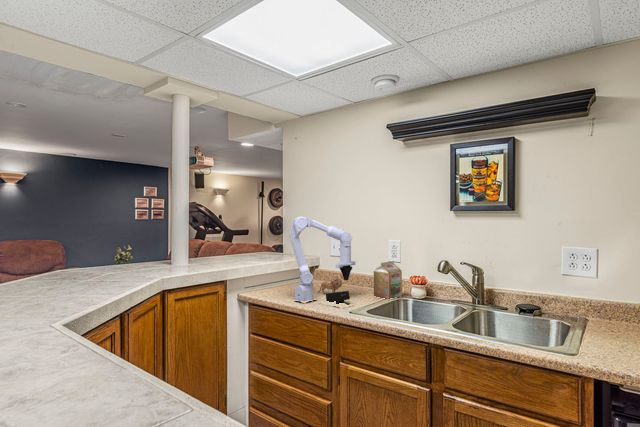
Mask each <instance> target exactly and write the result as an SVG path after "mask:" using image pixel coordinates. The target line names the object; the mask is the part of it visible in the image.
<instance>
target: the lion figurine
mask: <svg viewBox="0 0 640 427" xmlns="http://www.w3.org/2000/svg"><path fill="white" fill-rule="evenodd" d="M342 286H343V282H342V279H341V278H336V279H334V280H331V282H326V281H322V282H321V284H320V288H319V290H318V291H317V293H322V292H323V293H325V289H327V290H332V292H331V293H334V292H337V290H338V289H340V288H341V287H342ZM321 291H322V292H321ZM323 293H322V294H323Z"/></svg>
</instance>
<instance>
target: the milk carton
mask: <svg viewBox="0 0 640 427" xmlns="http://www.w3.org/2000/svg"><path fill="white" fill-rule="evenodd" d="M402 272H403V271H402V269H401V268H400V267H399V266H398V265H397V264H395V261H394V260H391V261H384V262H380V265H379V266H378V267H376V268H375V269H374V270H373V297H374V296H376V297H380V298H379V299H381V298H385V299H390V298H395V297H400V296H402V297H403V281H402V280H403V275H402V274H403V273H402ZM376 297H375V298H376ZM385 299H384V300H385Z"/></svg>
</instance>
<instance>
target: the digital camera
mask: <svg viewBox="0 0 640 427" xmlns="http://www.w3.org/2000/svg"><path fill="white" fill-rule="evenodd" d="M349 292H350V291H349V290H345V291H344V290H342V291H335V292H334V293H333V292H328V293H325V299H326V300H325V301H329V302H334V301H336V304H339V303H346V302H345V301H349V300H351V298H350V293H349Z"/></svg>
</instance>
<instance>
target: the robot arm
mask: <svg viewBox="0 0 640 427" xmlns="http://www.w3.org/2000/svg"><path fill="white" fill-rule="evenodd" d="M306 228H315V229H318V230H320V231H322V232H325V233H326V236H327V237H330V238H332V239H334V240H337V241H339V242H340V243H339V247H340V248H339V249H340V250H339V253H340V254H339V258H340V260H339V263H336V264H335V268H336V269H339V270H340V272H341V274H342V279H343V280H344V281H349V279H350V274H351V272H352V270H353V266H356V261H353V260H352V246H351V244H352V243H351V242H352V241H353V237H352V234H351V233H350V232H348V231H345V230H344V229H340V228H338V227H337V225H329V226H328V225H325V224H323V223H321V222H319V221H317V220H314V219H312V218H309V217H305V216H297V217H296V218H294V220H293V221H292V223H291V227H290V229H289V239H290V240H289V241H290V243H291V246H292V249H293V253H294V255H295V260H296V262H297V266H298V270H299V275H298V277H299V280H300V281H299V283H298V285H296V286H295V288H294V300H298V301H307V300H313V299H314V282H313V281H314V275H313V274H312V273H311V271H310V268H309V266H308V263H307V262H308V261H307V259H306V257H305V253H304V249H303V246H302V242H301V240H300V239H301V238H300V235H301V233H302V231H303V230H305V229H306Z"/></svg>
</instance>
